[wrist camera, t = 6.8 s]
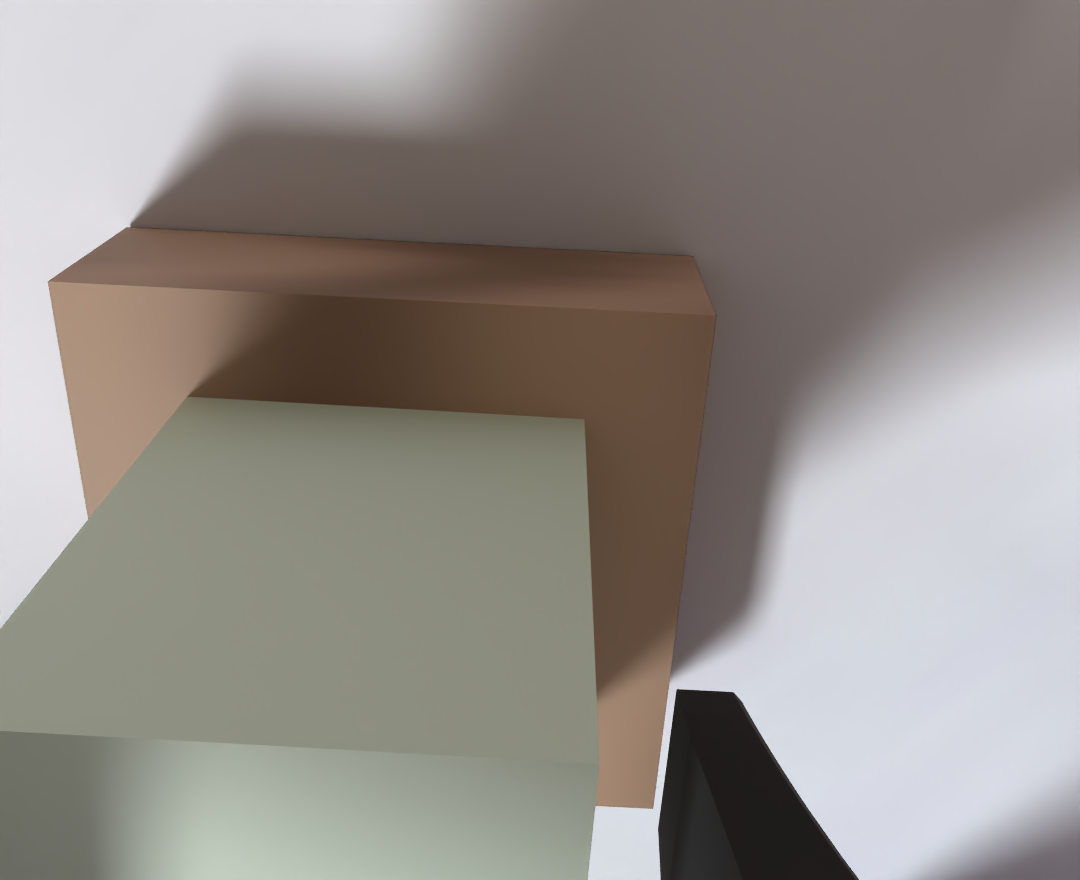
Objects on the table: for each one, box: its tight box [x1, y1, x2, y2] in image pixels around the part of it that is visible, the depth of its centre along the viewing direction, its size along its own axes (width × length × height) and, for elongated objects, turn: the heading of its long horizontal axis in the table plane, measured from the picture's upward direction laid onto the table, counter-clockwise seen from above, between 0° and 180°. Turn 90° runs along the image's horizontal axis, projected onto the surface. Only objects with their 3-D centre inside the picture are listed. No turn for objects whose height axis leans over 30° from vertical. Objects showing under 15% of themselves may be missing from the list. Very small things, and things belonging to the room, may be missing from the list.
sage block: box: [0, 397, 600, 880], centre depth 11 cm, size 5×5×6 cm
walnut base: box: [48, 227, 716, 809], centre depth 15 cm, size 8×8×2 cm
